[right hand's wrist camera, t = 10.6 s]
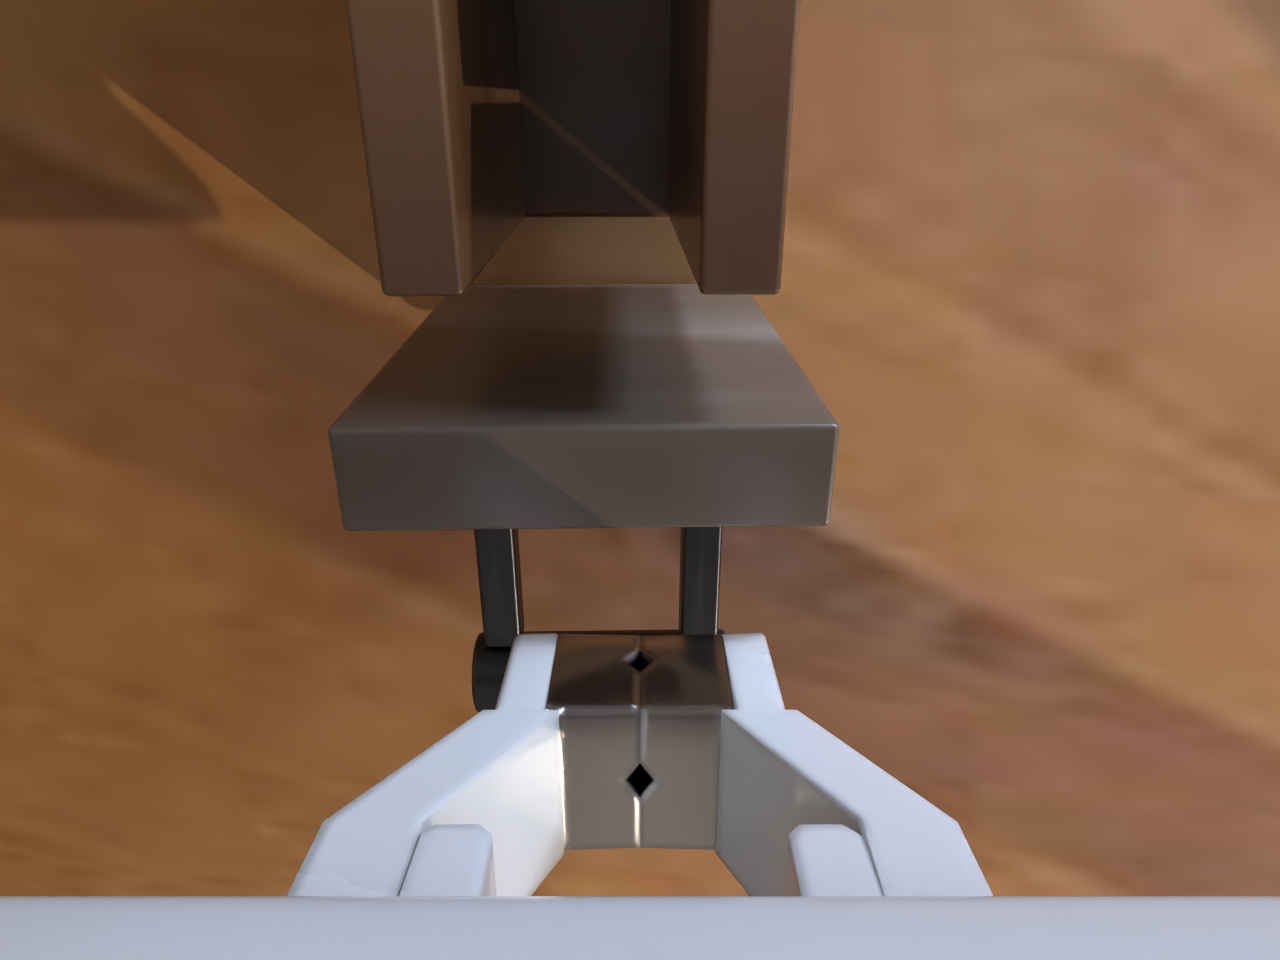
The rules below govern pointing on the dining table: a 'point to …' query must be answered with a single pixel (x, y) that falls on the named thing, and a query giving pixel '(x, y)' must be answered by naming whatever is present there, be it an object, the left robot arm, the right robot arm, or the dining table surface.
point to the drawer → (580, 287)
